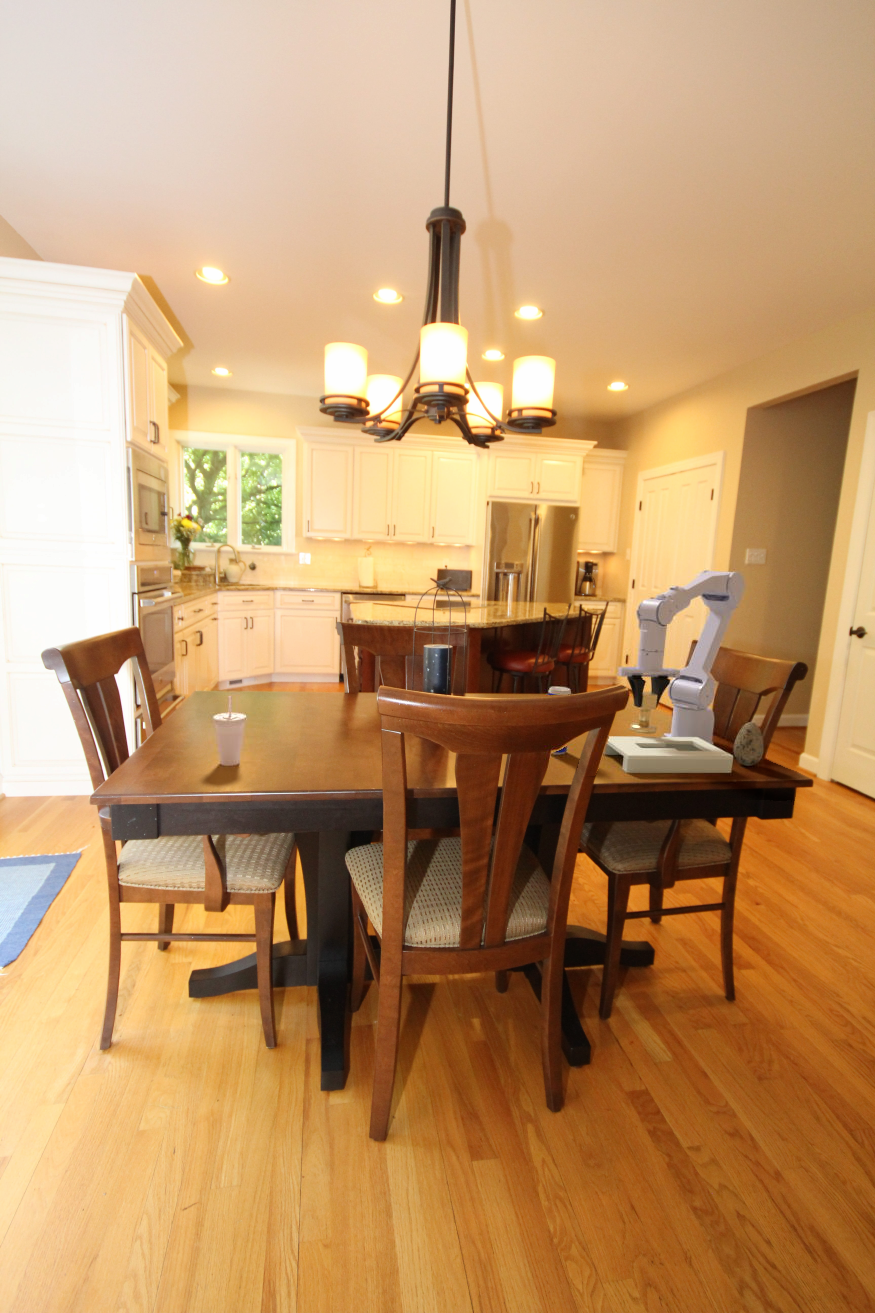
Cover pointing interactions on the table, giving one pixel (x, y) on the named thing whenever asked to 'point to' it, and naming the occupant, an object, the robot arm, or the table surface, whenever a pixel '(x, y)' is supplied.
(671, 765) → the keyhole plate
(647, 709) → the keyhole peg
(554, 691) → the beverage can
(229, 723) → the smoothie
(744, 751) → the decorative egg
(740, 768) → the table surface
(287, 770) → the table surface
